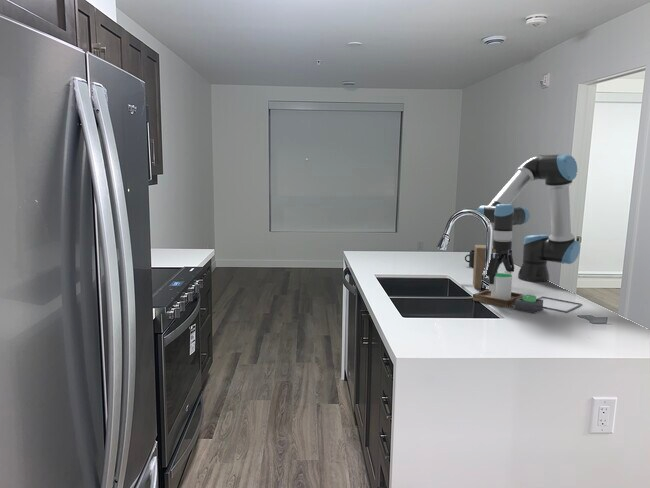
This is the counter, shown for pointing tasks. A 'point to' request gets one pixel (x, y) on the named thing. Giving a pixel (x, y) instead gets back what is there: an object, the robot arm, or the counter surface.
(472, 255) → the mug
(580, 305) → the tote frame
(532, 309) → the control box
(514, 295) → the wooden tray
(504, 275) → the mug
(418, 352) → the counter surface
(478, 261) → the wooden block
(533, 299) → the button
